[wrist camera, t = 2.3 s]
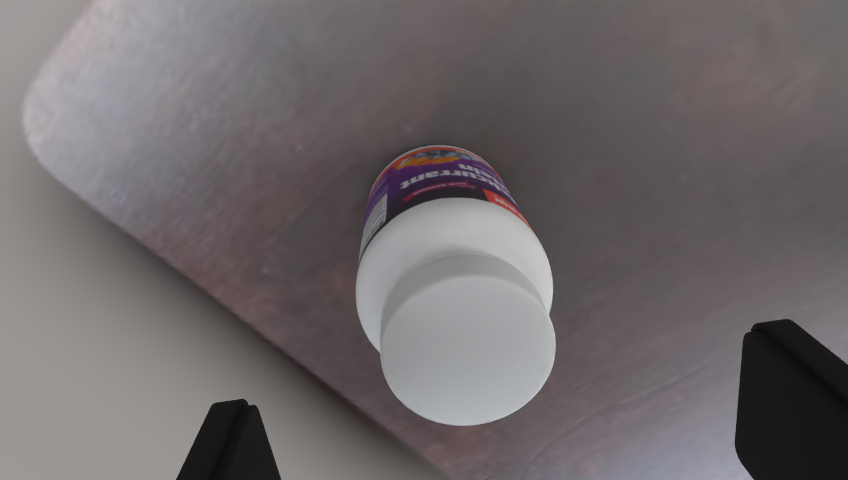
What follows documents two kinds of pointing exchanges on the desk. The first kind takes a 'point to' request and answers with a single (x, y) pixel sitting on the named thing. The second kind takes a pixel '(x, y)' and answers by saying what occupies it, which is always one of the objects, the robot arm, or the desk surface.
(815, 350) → the robot arm
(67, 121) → the desk surface
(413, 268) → the pill bottle
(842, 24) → the desk surface
